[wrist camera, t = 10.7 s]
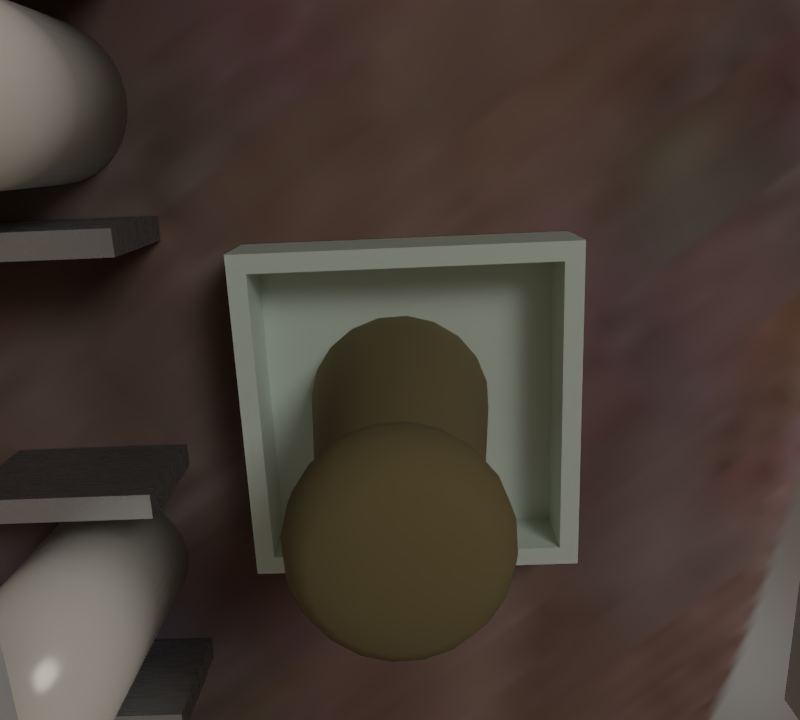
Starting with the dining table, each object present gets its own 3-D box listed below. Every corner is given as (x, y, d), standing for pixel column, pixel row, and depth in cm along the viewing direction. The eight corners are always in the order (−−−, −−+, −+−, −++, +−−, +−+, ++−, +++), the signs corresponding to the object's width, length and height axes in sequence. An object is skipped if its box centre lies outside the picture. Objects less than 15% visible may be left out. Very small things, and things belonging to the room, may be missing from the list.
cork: (518, 354, 25) (603, 508, 14) (447, 506, 26) (477, 745, 16) (348, 288, 24) (309, 396, 14) (286, 447, 26) (207, 655, 15)
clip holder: (-79, -49, 22) (-180, -91, 18) (122, -59, 22) (62, -102, 18) (60, 660, 29) (7, 740, 25) (213, 656, 29) (184, 734, 25)
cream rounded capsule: (42, 498, 27) (-129, 662, 18) (179, 493, 27) (72, 656, 18) (65, 618, 28) (-84, 823, 20) (195, 613, 28) (103, 817, 20)
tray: (241, 244, 24) (223, 255, 22) (568, 231, 24) (586, 240, 22) (270, 536, 27) (257, 574, 25) (562, 526, 27) (577, 562, 25)
